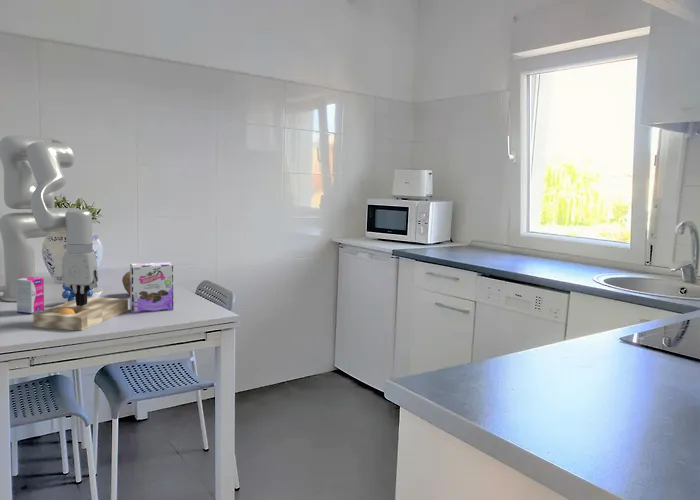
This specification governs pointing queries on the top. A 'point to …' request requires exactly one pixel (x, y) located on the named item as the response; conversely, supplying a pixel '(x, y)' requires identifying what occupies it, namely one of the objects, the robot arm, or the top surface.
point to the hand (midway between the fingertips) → (81, 304)
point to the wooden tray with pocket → (80, 313)
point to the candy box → (151, 287)
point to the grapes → (72, 293)
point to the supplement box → (30, 295)
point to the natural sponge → (126, 281)
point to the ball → (66, 311)
